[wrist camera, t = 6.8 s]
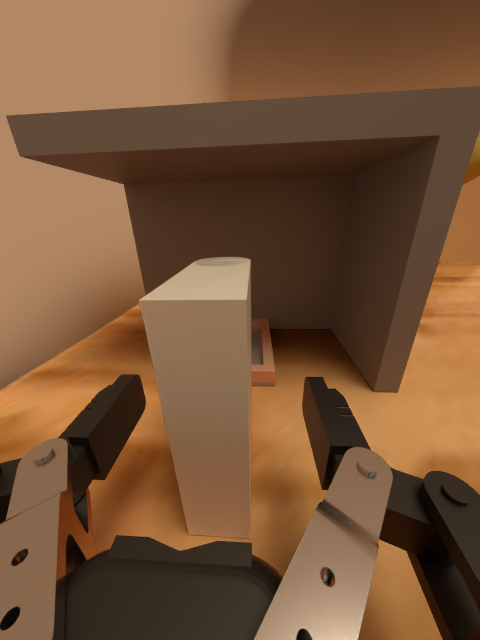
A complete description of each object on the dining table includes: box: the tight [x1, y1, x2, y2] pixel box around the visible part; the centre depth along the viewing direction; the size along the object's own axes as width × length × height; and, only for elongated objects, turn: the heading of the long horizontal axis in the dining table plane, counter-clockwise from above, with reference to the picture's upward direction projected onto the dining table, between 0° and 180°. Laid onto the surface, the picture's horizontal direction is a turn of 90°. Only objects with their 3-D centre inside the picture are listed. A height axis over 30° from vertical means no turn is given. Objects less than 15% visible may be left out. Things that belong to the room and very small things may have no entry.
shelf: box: [6, 86, 480, 392], centre depth 23 cm, size 14×27×20 cm, turn 87°
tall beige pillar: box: [139, 257, 252, 538], centre depth 12 cm, size 8×3×12 cm, turn 177°
